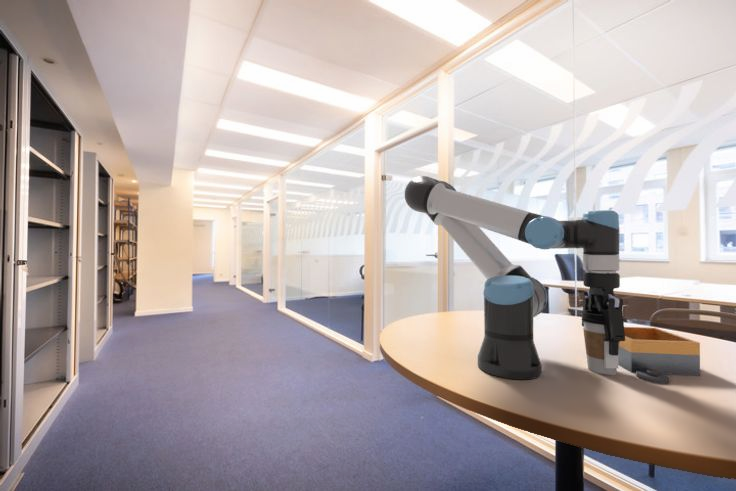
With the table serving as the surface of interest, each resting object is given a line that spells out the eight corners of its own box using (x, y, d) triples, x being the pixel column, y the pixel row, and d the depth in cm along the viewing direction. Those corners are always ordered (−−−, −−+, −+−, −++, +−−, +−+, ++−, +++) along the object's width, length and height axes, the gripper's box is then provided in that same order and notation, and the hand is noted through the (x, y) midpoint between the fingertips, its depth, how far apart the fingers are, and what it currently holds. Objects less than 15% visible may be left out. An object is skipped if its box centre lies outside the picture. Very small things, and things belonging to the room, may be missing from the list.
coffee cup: (630, 377, 78) (629, 314, 78) (591, 375, 80) (590, 313, 80) (611, 365, 86) (611, 308, 87) (576, 363, 88) (575, 307, 88)
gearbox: (631, 372, 82) (631, 340, 82) (598, 353, 96) (598, 326, 97) (700, 375, 79) (699, 342, 79) (655, 355, 94) (655, 327, 94)
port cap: (647, 384, 75) (647, 374, 75) (630, 374, 81) (630, 365, 81) (676, 386, 74) (676, 376, 74) (657, 375, 80) (657, 366, 80)
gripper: (645, 275, 73) (646, 378, 72) (595, 269, 93) (596, 349, 93) (607, 274, 74) (608, 376, 74) (566, 269, 94) (567, 348, 94)
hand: (601, 361), depth 83 cm, fingers closed on coffee cup, 8 cm apart
